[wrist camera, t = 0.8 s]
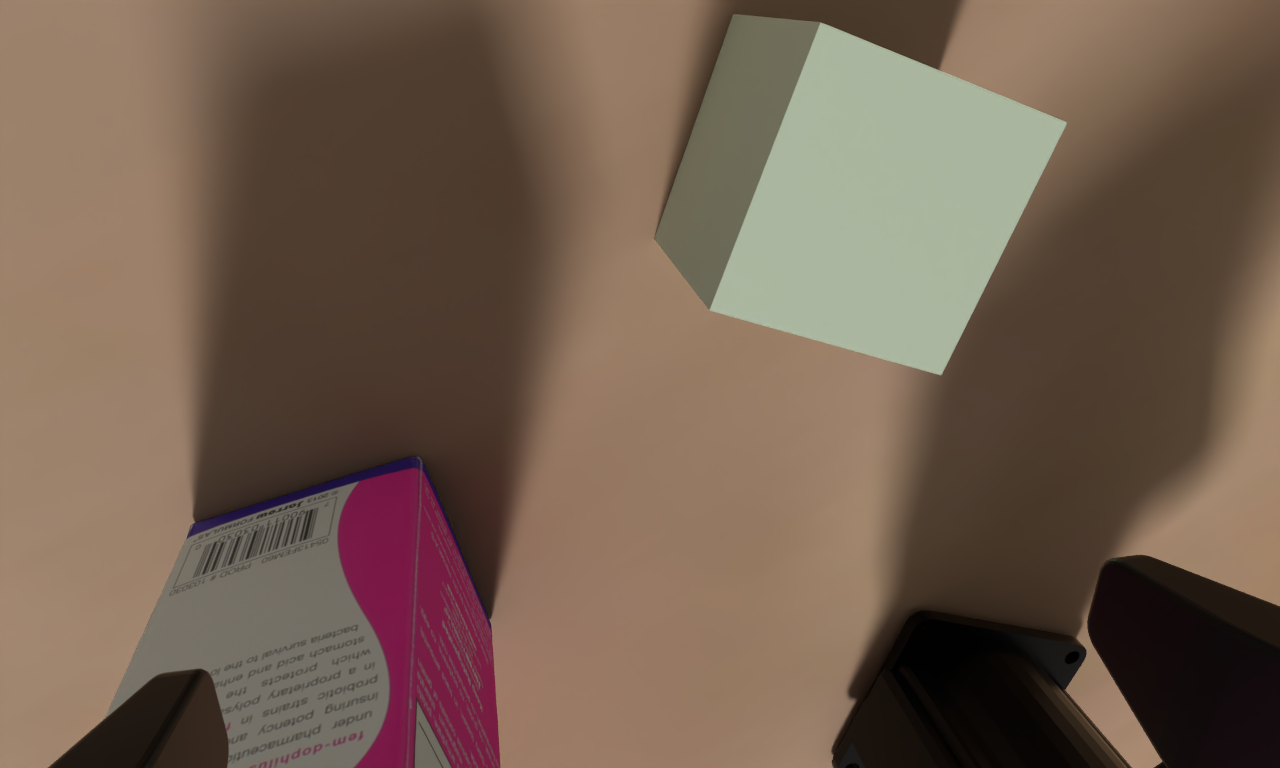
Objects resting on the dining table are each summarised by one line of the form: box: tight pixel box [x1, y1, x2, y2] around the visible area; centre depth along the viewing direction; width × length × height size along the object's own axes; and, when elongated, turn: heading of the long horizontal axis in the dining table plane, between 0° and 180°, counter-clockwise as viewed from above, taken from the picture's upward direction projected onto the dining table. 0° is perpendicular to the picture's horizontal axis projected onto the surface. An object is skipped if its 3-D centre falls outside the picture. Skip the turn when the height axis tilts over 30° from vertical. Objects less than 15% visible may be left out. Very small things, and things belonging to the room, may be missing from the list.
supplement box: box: [106, 456, 500, 768], centre depth 17 cm, size 6×6×12 cm
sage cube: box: [654, 14, 1067, 375], centre depth 18 cm, size 5×5×5 cm
